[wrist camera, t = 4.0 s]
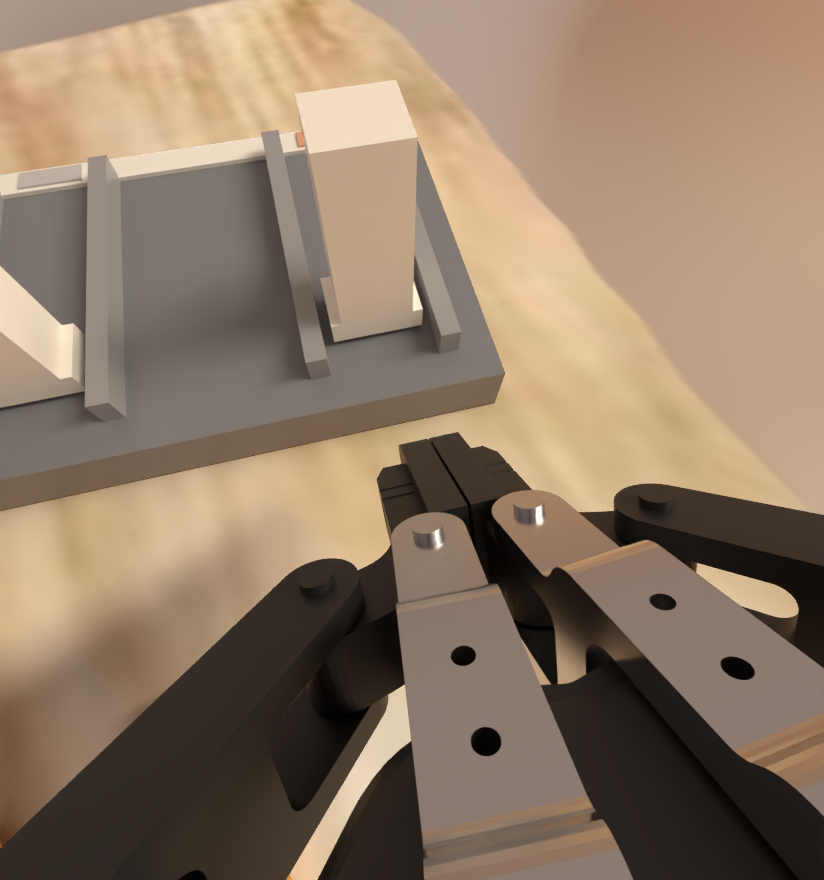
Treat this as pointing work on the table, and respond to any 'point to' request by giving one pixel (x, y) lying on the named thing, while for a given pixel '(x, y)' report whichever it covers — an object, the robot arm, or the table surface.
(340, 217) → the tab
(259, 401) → the switch box
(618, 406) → the table surface
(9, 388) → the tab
